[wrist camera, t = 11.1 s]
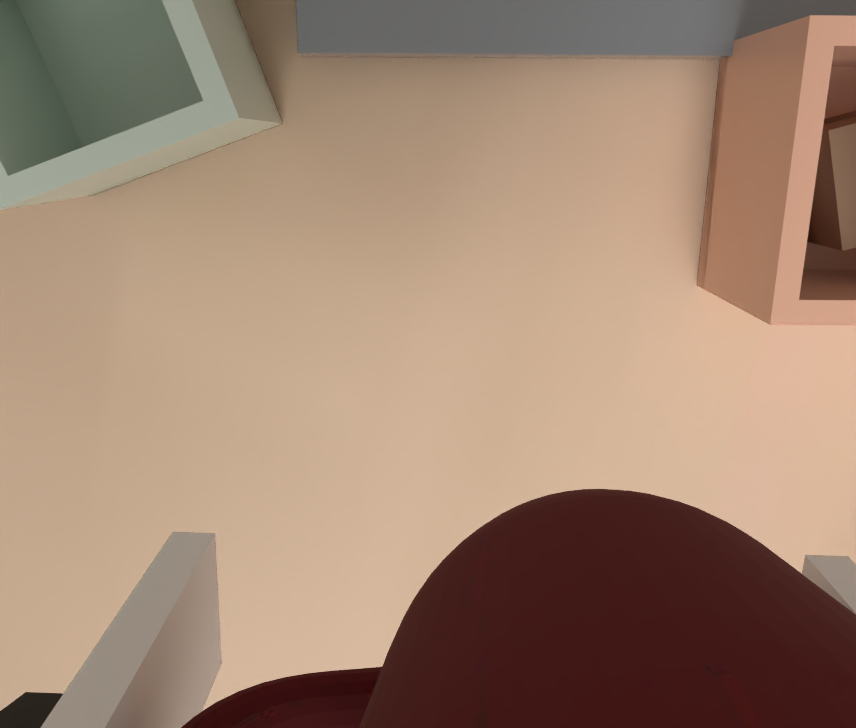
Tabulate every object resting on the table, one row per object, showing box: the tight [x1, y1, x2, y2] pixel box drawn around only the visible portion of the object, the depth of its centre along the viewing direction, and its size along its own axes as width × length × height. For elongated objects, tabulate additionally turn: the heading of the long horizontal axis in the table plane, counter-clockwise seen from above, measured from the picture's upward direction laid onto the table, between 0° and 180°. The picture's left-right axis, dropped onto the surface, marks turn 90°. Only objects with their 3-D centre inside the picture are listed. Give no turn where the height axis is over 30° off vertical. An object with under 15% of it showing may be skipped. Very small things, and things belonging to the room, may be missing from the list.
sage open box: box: [0, 0, 282, 210], centre depth 26 cm, size 8×8×7 cm
